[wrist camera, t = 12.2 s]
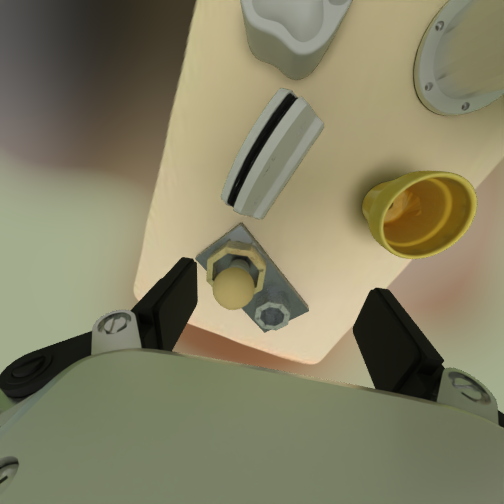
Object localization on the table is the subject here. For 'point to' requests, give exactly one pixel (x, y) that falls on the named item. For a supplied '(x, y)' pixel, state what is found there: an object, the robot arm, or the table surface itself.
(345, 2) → the lumpy-topped squat cylinder
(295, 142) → the white rounded block
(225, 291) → the light bulb
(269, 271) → the fitting plate
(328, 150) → the table surface
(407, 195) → the plant pot
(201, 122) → the table surface
